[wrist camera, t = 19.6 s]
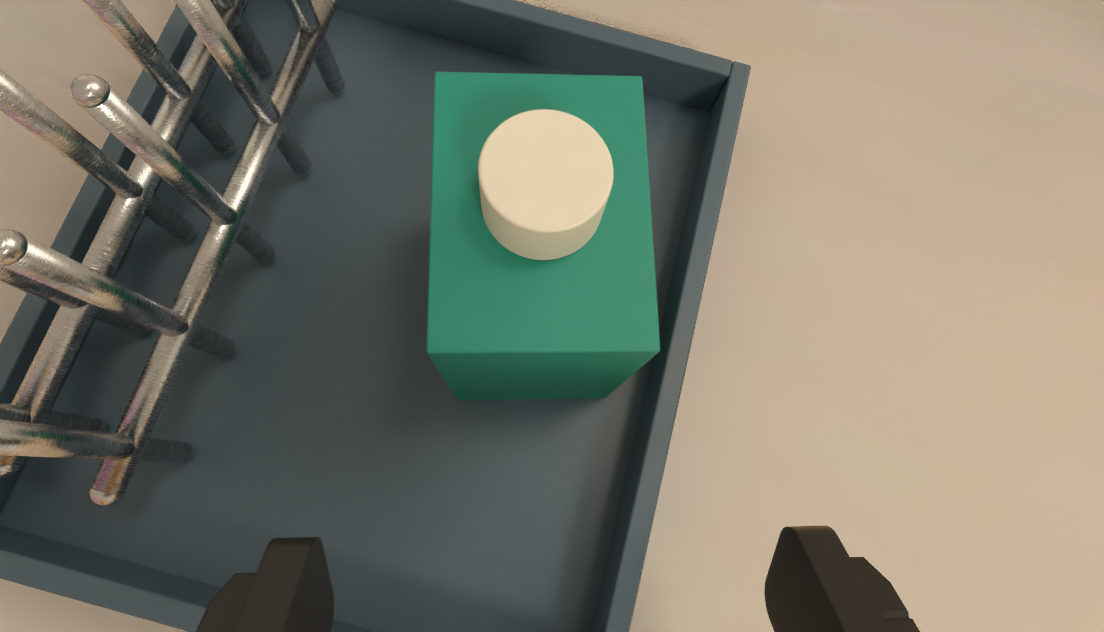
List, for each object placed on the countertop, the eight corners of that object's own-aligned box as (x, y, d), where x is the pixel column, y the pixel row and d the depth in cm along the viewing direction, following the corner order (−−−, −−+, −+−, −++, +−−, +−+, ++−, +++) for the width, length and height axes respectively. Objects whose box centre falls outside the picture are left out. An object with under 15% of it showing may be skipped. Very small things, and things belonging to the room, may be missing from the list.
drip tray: (724, 112, 22) (752, 64, 20) (590, 710, 17) (604, 749, 15) (253, -19, 22) (220, -83, 20) (-18, 539, 17) (-108, 548, 15)
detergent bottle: (598, 210, 20) (658, 25, 12) (606, 398, 19) (682, 333, 10) (459, 210, 20) (424, 19, 12) (456, 400, 18) (414, 335, 10)
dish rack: (362, 58, 21) (265, -220, 13) (177, 505, 17) (-136, 529, 9) (269, 33, 21) (111, -262, 13) (64, 473, 17) (-358, 466, 9)
